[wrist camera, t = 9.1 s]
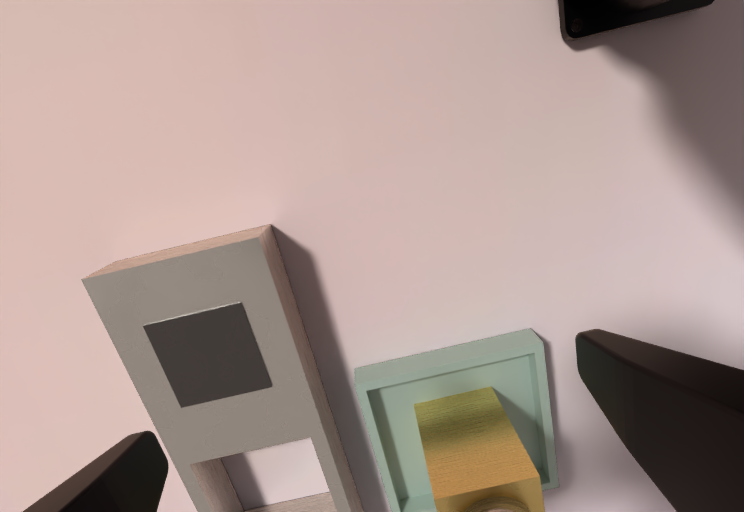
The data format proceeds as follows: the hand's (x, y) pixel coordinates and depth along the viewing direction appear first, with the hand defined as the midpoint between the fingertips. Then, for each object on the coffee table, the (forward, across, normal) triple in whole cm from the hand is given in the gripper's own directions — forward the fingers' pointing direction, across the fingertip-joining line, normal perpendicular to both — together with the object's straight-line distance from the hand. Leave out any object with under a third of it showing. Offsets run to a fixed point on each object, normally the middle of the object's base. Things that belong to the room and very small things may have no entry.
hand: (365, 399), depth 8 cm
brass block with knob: (+12, -3, +12) cm, 17 cm away
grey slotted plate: (+12, +8, +10) cm, 18 cm away
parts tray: (+12, -3, +12) cm, 17 cm away
